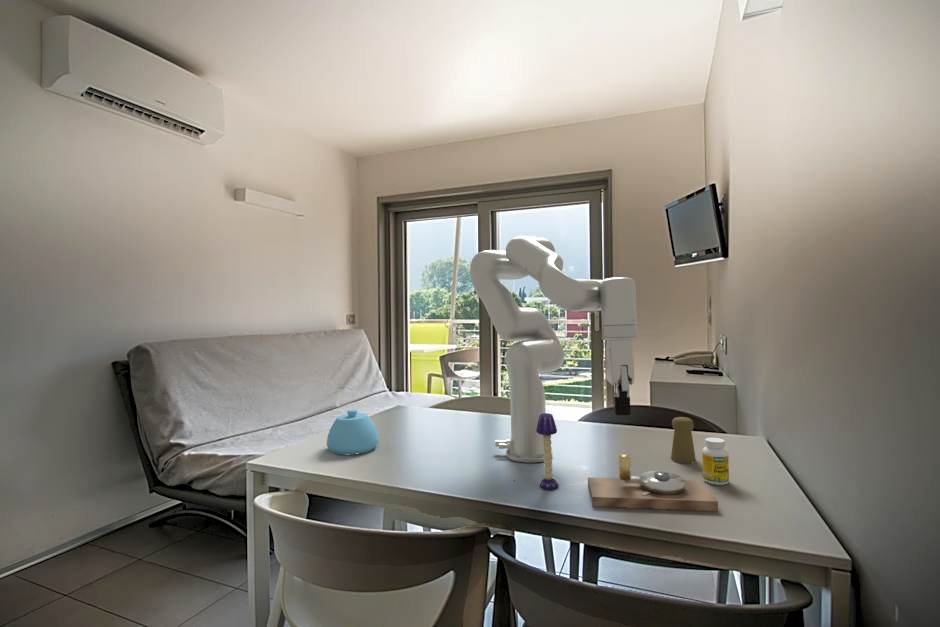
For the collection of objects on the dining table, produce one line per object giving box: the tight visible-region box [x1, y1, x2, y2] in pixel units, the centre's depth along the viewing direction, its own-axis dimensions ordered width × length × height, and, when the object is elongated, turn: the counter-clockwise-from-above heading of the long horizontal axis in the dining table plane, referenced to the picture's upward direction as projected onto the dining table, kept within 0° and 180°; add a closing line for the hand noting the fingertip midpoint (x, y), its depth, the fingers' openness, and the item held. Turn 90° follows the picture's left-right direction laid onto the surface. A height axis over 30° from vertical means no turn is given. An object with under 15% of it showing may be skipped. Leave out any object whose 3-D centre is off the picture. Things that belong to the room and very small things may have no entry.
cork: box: [670, 416, 697, 464], centre depth 125 cm, size 6×6×11 cm
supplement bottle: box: [701, 437, 730, 486], centre depth 110 cm, size 5×5×10 cm
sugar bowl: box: [326, 409, 380, 455], centre depth 142 cm, size 15×15×12 cm
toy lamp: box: [536, 412, 559, 491], centre depth 109 cm, size 5×5×17 cm
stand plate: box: [587, 476, 719, 512], centre depth 101 cm, size 24×11×2 cm, turn 81°
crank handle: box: [618, 453, 686, 494], centre depth 102 cm, size 13×9×6 cm
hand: (622, 414), depth 107 cm, fingers closed
